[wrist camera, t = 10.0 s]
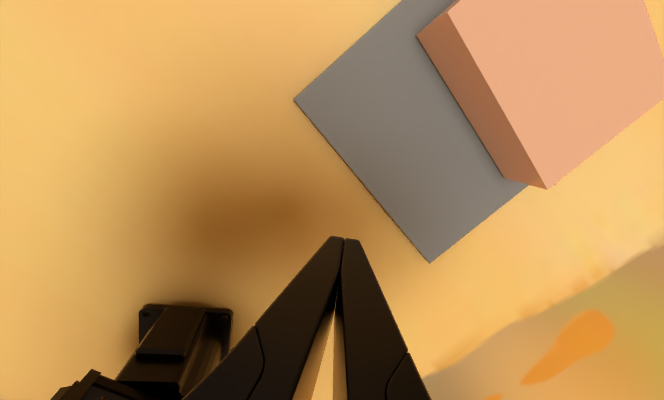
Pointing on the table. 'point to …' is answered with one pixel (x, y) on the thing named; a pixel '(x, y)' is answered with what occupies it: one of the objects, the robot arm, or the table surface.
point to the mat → (407, 132)
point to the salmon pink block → (547, 77)
